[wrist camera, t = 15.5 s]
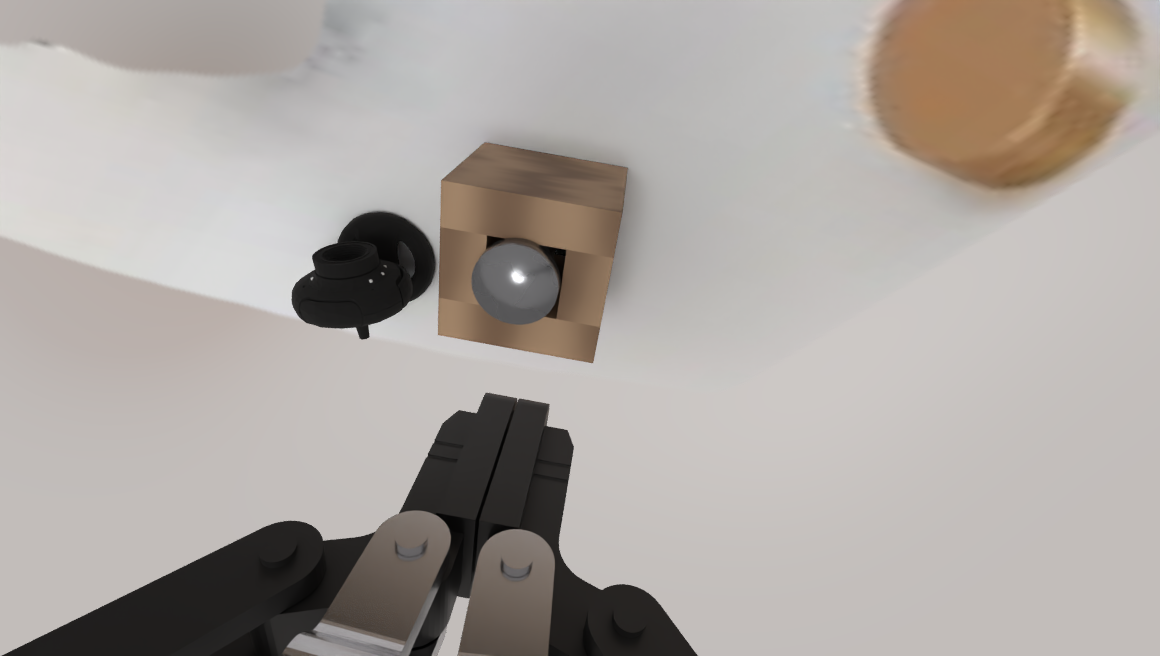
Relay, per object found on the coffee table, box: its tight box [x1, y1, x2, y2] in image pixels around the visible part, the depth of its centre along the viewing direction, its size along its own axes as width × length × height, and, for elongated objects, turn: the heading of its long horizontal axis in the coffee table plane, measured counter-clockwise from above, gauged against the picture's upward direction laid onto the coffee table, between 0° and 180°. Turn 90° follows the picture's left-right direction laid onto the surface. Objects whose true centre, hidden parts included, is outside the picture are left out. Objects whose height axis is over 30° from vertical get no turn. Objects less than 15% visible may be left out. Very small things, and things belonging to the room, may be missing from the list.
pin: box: [471, 238, 561, 325], centre depth 36 cm, size 5×5×10 cm
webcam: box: [292, 213, 434, 339], centre depth 40 cm, size 8×8×10 cm
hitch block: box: [438, 143, 628, 363], centre depth 37 cm, size 10×10×10 cm
